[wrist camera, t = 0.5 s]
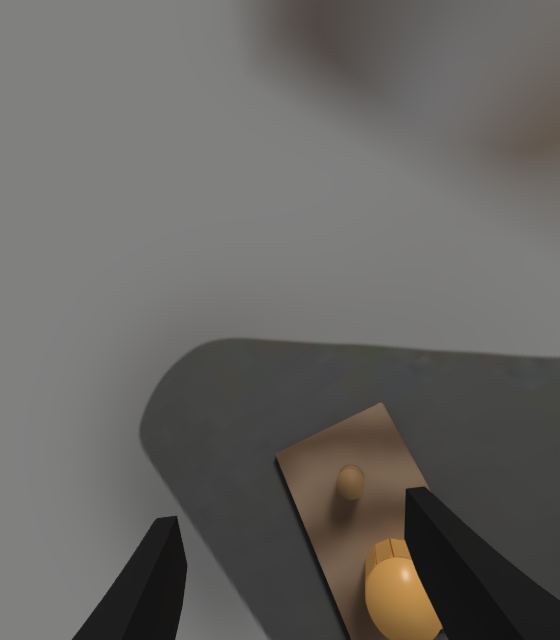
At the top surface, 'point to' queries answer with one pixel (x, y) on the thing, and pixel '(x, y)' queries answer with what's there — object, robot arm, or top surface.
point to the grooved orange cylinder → (398, 594)
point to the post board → (351, 502)
